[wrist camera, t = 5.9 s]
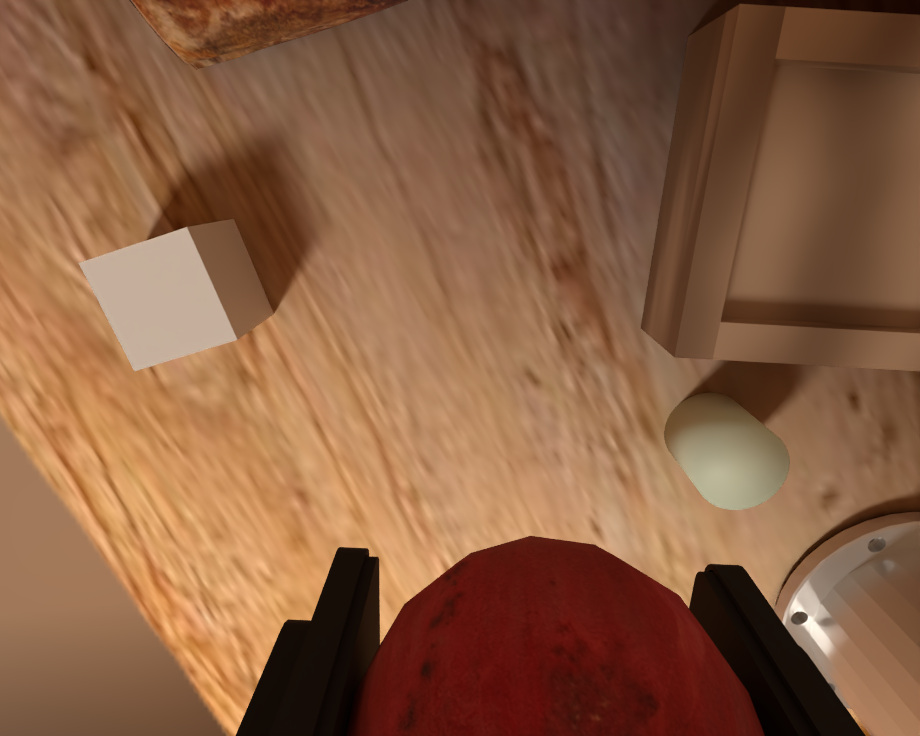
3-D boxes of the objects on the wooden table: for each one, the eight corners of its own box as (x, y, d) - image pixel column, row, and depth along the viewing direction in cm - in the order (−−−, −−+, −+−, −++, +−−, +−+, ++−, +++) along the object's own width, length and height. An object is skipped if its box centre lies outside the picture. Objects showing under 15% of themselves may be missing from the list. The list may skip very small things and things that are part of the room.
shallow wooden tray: (986, 54, 23) (1107, 26, 18) (896, 342, 27) (978, 374, 22) (688, 36, 23) (739, 3, 18) (640, 328, 26) (674, 357, 22)
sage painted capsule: (753, 394, 27) (799, 429, 24) (736, 468, 29) (777, 512, 25) (671, 390, 27) (704, 424, 24) (657, 463, 29) (686, 507, 25)
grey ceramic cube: (234, 218, 25) (186, 226, 21) (274, 313, 26) (237, 339, 22) (143, 248, 26) (78, 263, 21) (186, 340, 27) (134, 371, 23)
